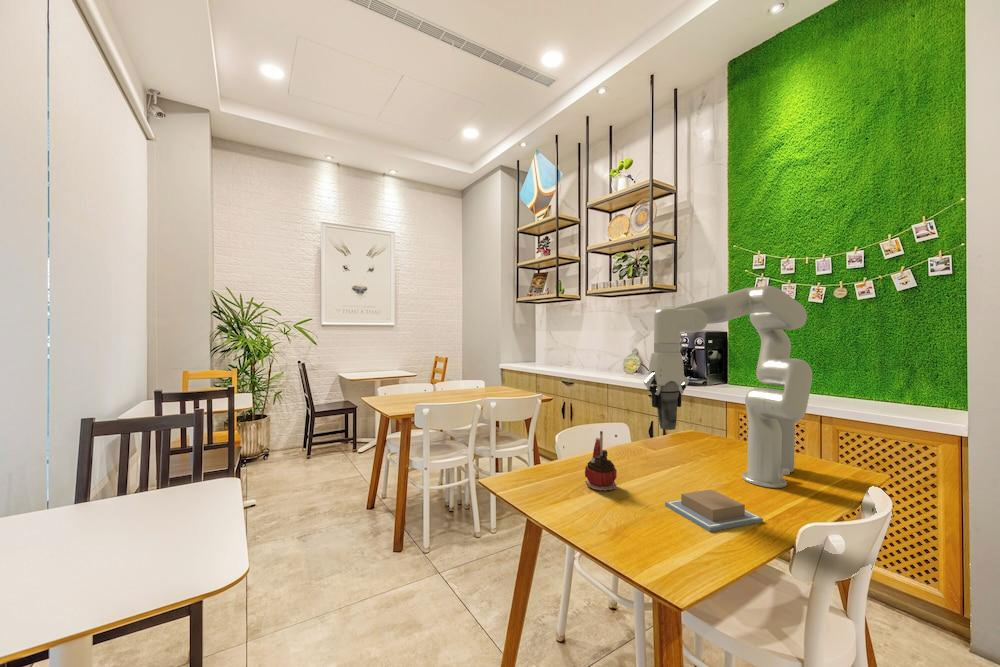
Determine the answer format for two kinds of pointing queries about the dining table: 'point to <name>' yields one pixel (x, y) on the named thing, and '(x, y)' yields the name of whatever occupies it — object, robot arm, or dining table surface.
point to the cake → (600, 468)
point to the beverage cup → (668, 406)
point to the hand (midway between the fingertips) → (666, 406)
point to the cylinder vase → (787, 444)
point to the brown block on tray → (713, 510)
